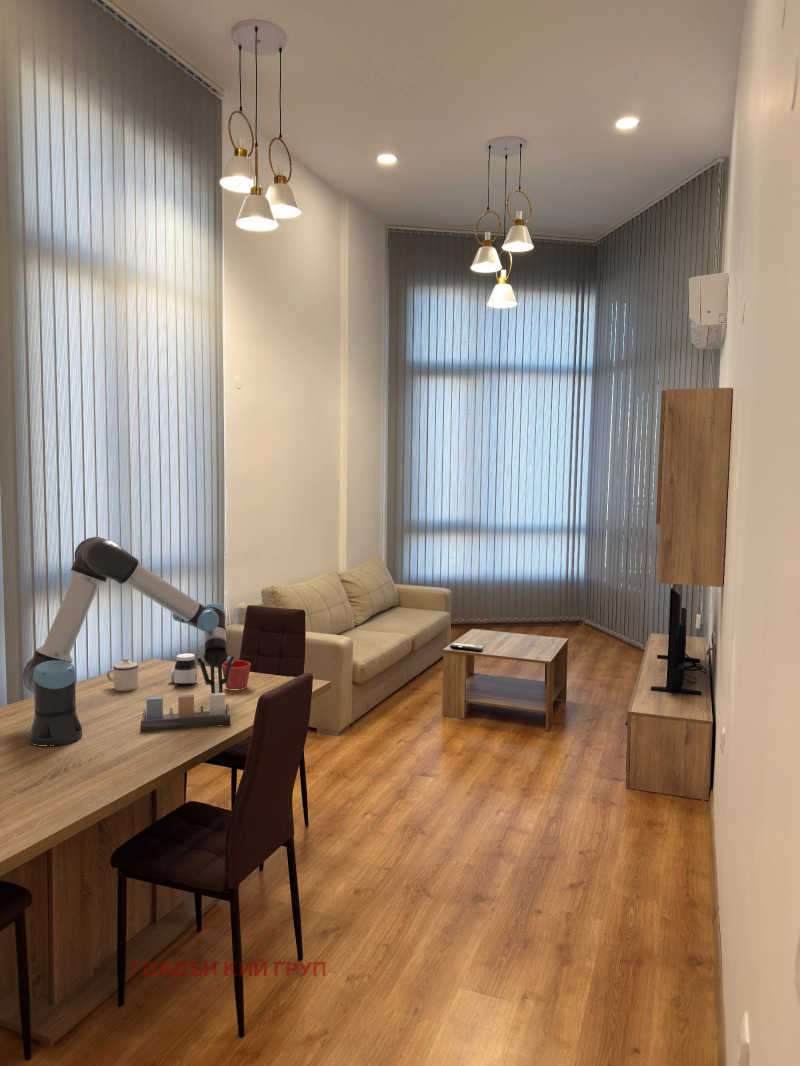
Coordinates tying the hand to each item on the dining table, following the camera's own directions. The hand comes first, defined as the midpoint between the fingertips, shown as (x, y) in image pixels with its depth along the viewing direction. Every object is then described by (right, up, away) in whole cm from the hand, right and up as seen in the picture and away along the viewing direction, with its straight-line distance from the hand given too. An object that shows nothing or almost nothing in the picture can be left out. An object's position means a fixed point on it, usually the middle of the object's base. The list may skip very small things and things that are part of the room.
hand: (217, 701), depth 256 cm
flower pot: (-1, -3, +36) cm, 36 cm away
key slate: (-18, -4, -9) cm, 21 cm away
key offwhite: (+1, -4, -3) cm, 5 cm away
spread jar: (-24, -2, +41) cm, 48 cm away
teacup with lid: (-45, -3, +34) cm, 56 cm away
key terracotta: (-9, -4, -6) cm, 11 cm away
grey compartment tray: (-9, -6, -6) cm, 12 cm away
